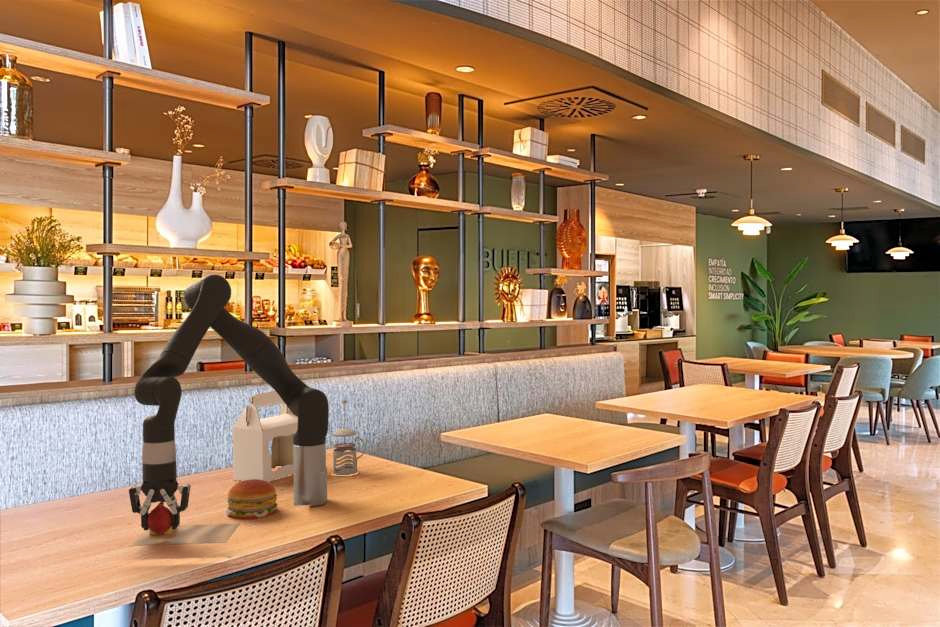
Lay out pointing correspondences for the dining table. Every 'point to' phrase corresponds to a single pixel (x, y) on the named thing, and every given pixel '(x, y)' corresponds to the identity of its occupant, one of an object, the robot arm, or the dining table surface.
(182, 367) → the robot arm
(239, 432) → the gable box
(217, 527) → the board
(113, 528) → the dining table surface
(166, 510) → the onion
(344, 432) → the french press
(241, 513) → the burger
